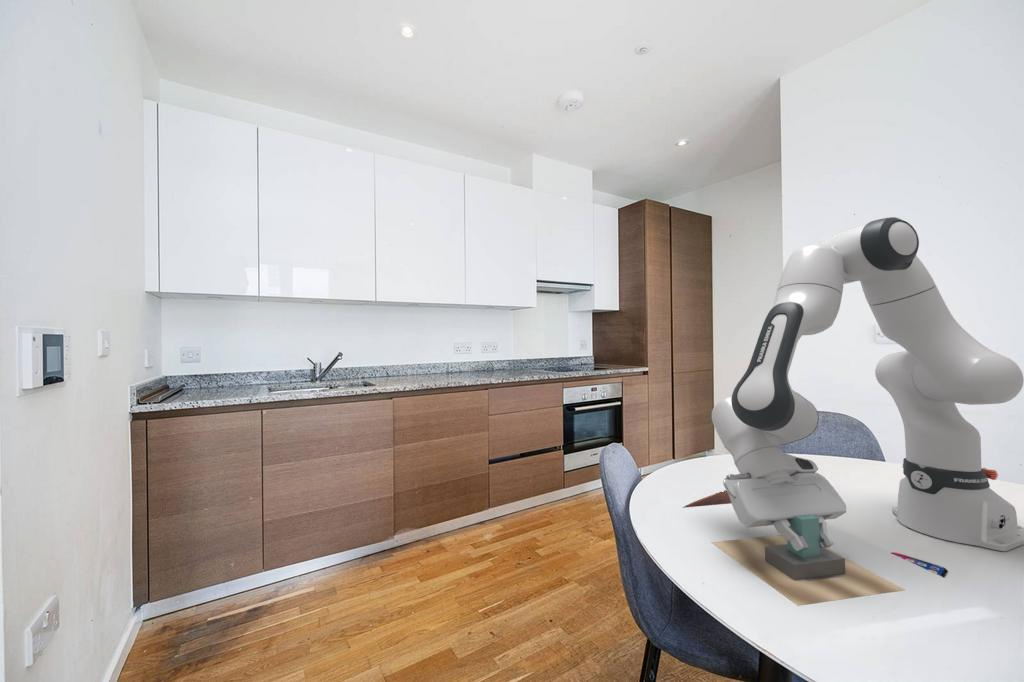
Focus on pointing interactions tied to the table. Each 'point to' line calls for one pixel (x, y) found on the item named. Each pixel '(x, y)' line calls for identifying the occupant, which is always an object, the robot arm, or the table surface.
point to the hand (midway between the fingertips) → (815, 548)
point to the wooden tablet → (712, 500)
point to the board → (810, 589)
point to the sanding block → (805, 553)
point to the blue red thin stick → (924, 565)
